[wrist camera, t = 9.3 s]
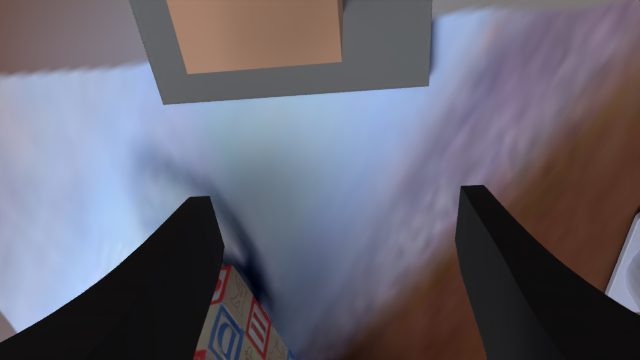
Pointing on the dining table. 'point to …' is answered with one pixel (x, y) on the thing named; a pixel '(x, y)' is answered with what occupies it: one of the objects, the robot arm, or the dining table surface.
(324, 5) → the tan cube
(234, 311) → the stack of blocks
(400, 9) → the charcoal mat
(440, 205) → the dining table surface
